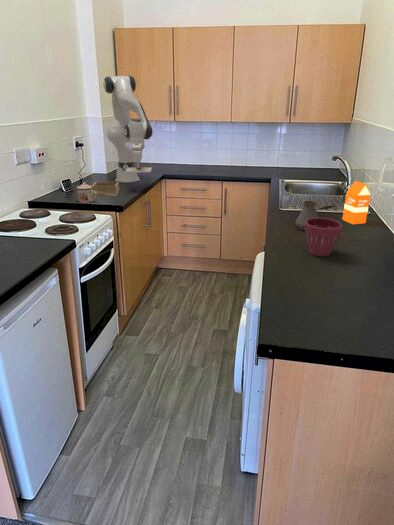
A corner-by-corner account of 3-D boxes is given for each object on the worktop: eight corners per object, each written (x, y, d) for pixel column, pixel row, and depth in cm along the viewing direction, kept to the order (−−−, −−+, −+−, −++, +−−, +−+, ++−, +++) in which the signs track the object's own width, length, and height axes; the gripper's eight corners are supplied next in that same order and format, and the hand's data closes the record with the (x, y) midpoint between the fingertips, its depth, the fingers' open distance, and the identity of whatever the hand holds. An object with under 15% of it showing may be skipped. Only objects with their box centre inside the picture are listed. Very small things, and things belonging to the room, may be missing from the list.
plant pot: (336, 261, 152) (341, 229, 147) (299, 255, 157) (303, 225, 152) (338, 248, 164) (343, 219, 159) (304, 244, 169) (307, 215, 164)
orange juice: (352, 224, 196) (359, 184, 188) (341, 219, 204) (347, 181, 196) (365, 223, 198) (372, 183, 190) (354, 218, 206) (361, 180, 198)
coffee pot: (290, 226, 192) (293, 196, 186) (308, 223, 197) (311, 194, 191) (320, 239, 175) (325, 207, 169) (339, 236, 179) (344, 204, 174)
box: (96, 192, 258) (95, 182, 256) (119, 192, 259) (118, 181, 257) (92, 197, 247) (91, 186, 244) (116, 196, 247) (115, 185, 245)
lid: (127, 169, 263) (127, 161, 261) (151, 168, 264) (151, 161, 262) (125, 172, 250) (125, 164, 248) (150, 172, 251) (150, 164, 249)
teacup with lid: (75, 203, 233) (72, 183, 228) (83, 199, 241) (81, 180, 236) (92, 204, 229) (90, 185, 225) (100, 201, 237) (99, 182, 233)
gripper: (134, 144, 260) (135, 165, 266) (131, 147, 241) (132, 170, 247) (143, 143, 261) (144, 165, 266) (141, 147, 242) (142, 169, 247)
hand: (138, 167), depth 256 cm, fingers closed on lid, 3 cm apart
